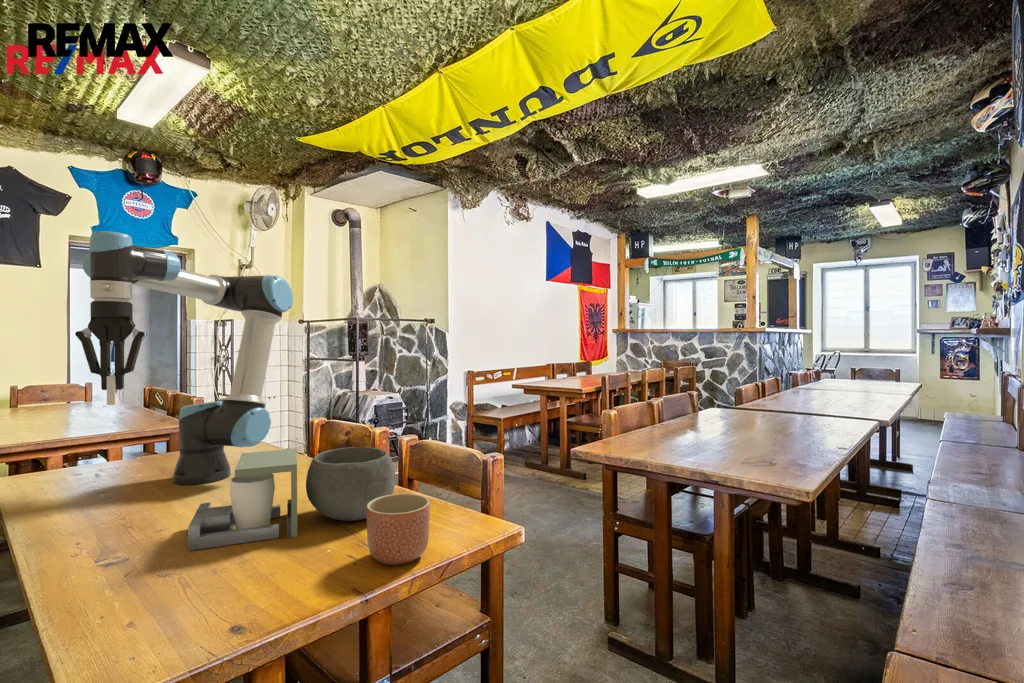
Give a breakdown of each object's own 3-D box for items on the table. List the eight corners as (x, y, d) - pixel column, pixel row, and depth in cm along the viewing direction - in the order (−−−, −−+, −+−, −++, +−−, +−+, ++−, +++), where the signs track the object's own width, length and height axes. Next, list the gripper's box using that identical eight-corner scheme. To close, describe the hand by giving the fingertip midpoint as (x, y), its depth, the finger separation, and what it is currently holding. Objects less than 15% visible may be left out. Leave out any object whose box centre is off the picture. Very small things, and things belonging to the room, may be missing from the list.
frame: (200, 525, 117) (200, 503, 116) (280, 514, 123) (280, 494, 123) (188, 550, 103) (188, 526, 103) (278, 537, 110) (278, 514, 109)
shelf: (242, 519, 120) (241, 453, 120) (296, 512, 125) (296, 448, 125) (235, 545, 106) (234, 469, 105) (297, 536, 111) (297, 464, 110)
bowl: (291, 515, 123) (290, 454, 123) (367, 495, 139) (367, 441, 138) (333, 539, 109) (332, 471, 109) (412, 514, 124) (412, 454, 124)
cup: (255, 539, 109) (255, 484, 108) (220, 535, 111) (220, 481, 111) (283, 524, 117) (283, 473, 117) (250, 521, 120) (250, 470, 119)
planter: (352, 565, 97) (352, 509, 97) (390, 540, 109) (390, 490, 108) (408, 576, 92) (408, 517, 92) (441, 549, 104) (441, 497, 104)
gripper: (68, 299, 108) (70, 408, 109) (141, 300, 114) (142, 404, 114) (82, 301, 115) (83, 403, 116) (150, 302, 120) (151, 400, 121)
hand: (112, 404), depth 115 cm, fingers closed
